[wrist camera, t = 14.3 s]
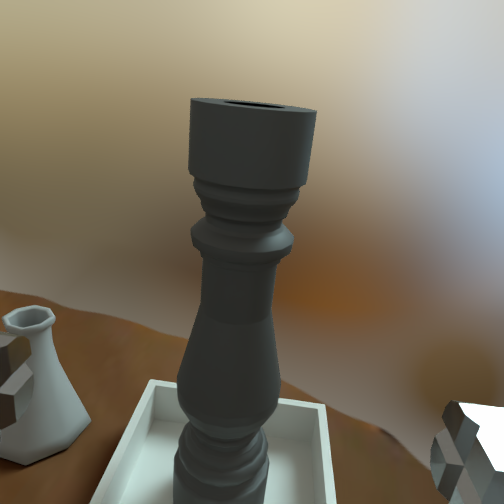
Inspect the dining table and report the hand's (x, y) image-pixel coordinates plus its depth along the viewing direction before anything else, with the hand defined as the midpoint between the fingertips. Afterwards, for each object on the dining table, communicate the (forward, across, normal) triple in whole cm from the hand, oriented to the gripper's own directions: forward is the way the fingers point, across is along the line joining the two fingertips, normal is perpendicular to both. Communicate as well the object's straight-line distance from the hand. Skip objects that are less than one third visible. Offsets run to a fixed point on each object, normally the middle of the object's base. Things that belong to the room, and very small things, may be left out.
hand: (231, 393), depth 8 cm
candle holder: (+14, -1, -20) cm, 24 cm away
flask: (+18, -16, -21) cm, 32 cm away
